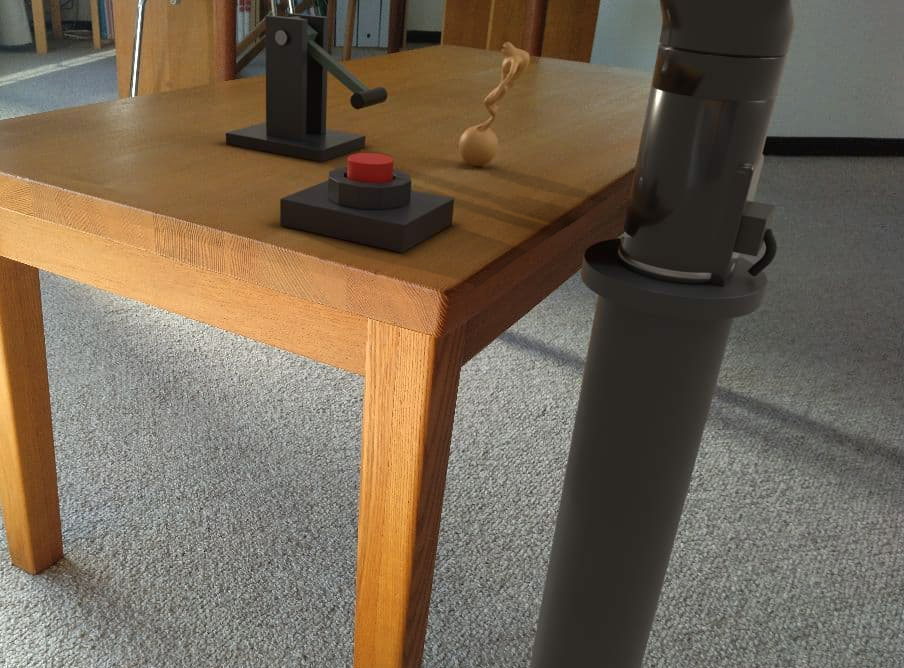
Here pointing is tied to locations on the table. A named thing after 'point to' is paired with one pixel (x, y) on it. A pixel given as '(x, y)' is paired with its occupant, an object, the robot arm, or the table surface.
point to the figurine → (492, 110)
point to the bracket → (295, 96)
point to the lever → (344, 75)
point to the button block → (368, 211)
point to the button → (370, 168)
